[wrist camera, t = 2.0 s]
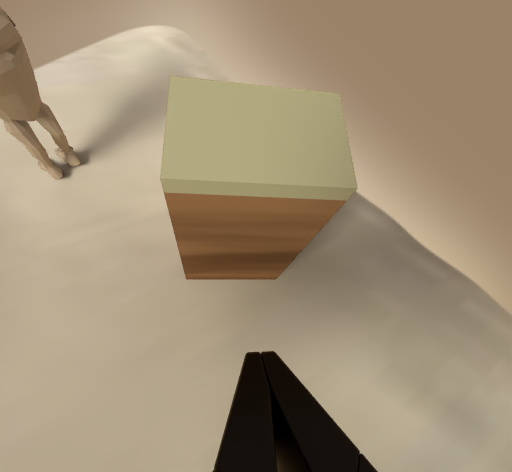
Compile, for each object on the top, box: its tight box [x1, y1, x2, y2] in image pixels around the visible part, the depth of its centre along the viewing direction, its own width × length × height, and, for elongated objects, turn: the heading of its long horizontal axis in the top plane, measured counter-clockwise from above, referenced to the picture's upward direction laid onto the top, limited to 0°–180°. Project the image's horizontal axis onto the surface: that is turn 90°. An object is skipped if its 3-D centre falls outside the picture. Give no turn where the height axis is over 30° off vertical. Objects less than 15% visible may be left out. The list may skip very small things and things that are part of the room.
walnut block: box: [160, 76, 357, 279], centre depth 15 cm, size 4×6×12 cm, turn 92°
